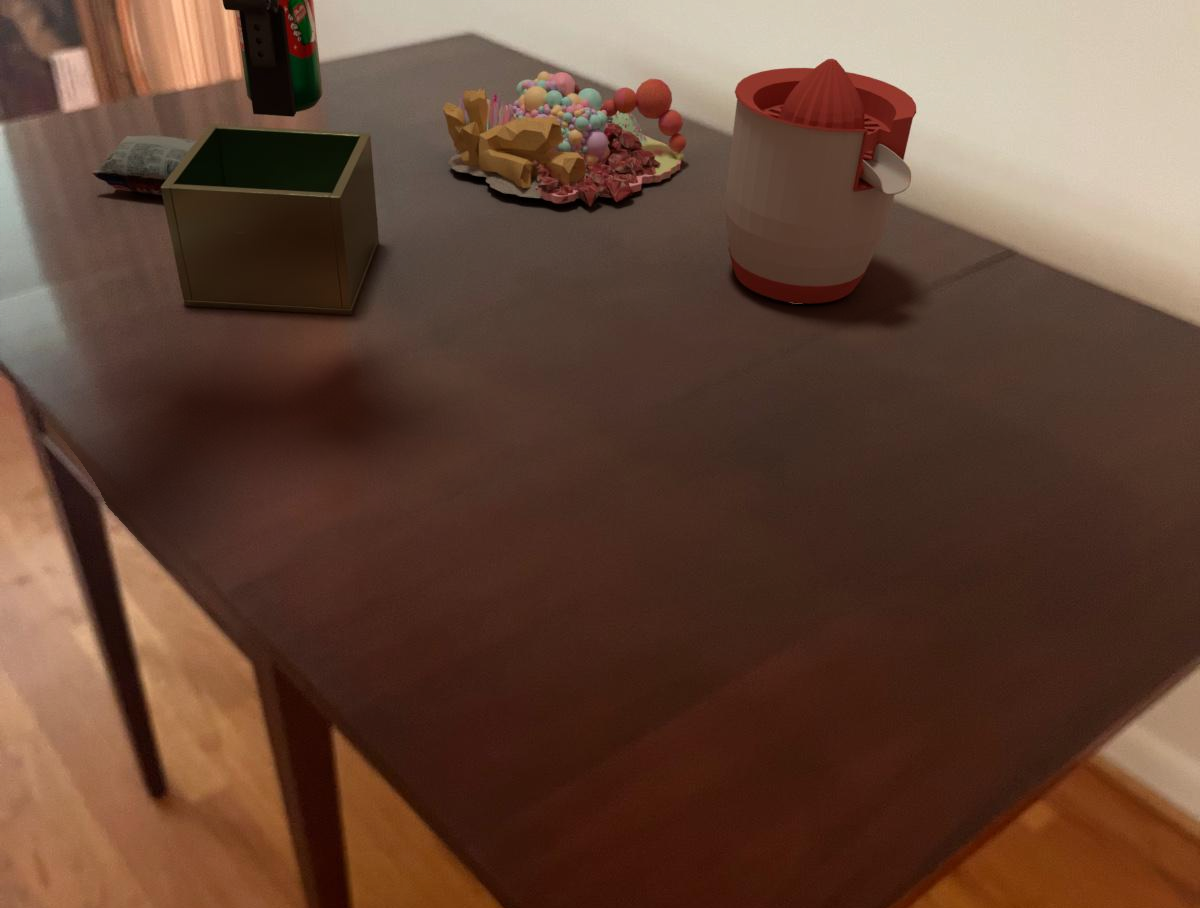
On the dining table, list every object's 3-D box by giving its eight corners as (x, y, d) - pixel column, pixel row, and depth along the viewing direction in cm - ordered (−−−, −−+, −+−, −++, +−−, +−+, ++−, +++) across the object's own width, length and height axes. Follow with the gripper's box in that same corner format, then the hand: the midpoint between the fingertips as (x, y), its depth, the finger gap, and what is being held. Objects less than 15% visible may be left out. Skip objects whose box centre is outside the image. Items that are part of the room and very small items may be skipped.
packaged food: (138, 165, 124) (127, 117, 121) (242, 179, 123) (235, 131, 120) (95, 197, 118) (83, 148, 115) (205, 212, 116) (196, 163, 113)
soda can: (243, 92, 82) (215, -104, 74) (316, 88, 83) (296, -105, 75) (253, 117, 78) (225, -86, 70) (329, 112, 80) (309, -87, 72)
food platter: (597, 229, 118) (601, 137, 112) (409, 174, 126) (403, 85, 120) (705, 155, 134) (714, 71, 128) (533, 111, 143) (534, 30, 137)
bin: (184, 306, 102) (160, 187, 95) (228, 235, 113) (209, 123, 106) (351, 315, 102) (339, 197, 95) (379, 244, 113) (370, 133, 106)
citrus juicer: (812, 343, 102) (856, 108, 89) (679, 268, 112) (701, 47, 99) (924, 296, 110) (980, 75, 97) (791, 231, 120) (825, 21, 107)
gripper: (259, -315, 58) (310, 151, 74) (334, -335, 72) (363, 61, 87) (109, -326, 58) (191, 143, 74) (212, -344, 72) (263, 54, 87)
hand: (285, 98), depth 80 cm, fingers closed on soda can, 5 cm apart
